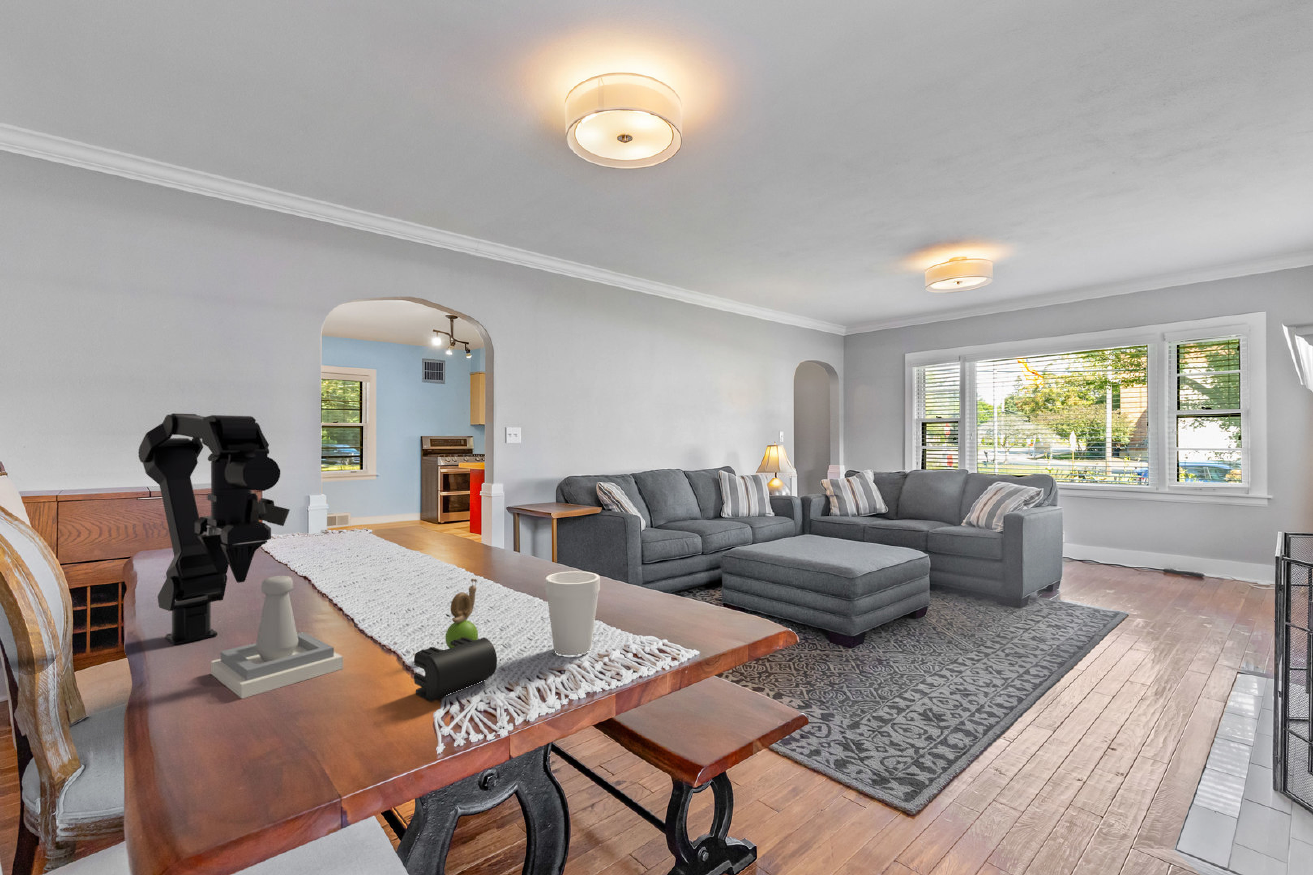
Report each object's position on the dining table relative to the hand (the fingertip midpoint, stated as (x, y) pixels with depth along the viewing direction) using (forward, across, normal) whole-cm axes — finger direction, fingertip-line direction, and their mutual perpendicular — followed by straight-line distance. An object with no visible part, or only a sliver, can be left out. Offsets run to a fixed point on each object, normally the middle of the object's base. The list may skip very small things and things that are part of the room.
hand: (231, 577), depth 102 cm
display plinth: (+13, -15, -2) cm, 20 cm away
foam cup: (+13, -45, -38) cm, 60 cm away
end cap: (+13, -43, -16) cm, 48 cm away
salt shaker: (+11, -15, -2) cm, 19 cm away
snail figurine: (+13, -30, -26) cm, 42 cm away
